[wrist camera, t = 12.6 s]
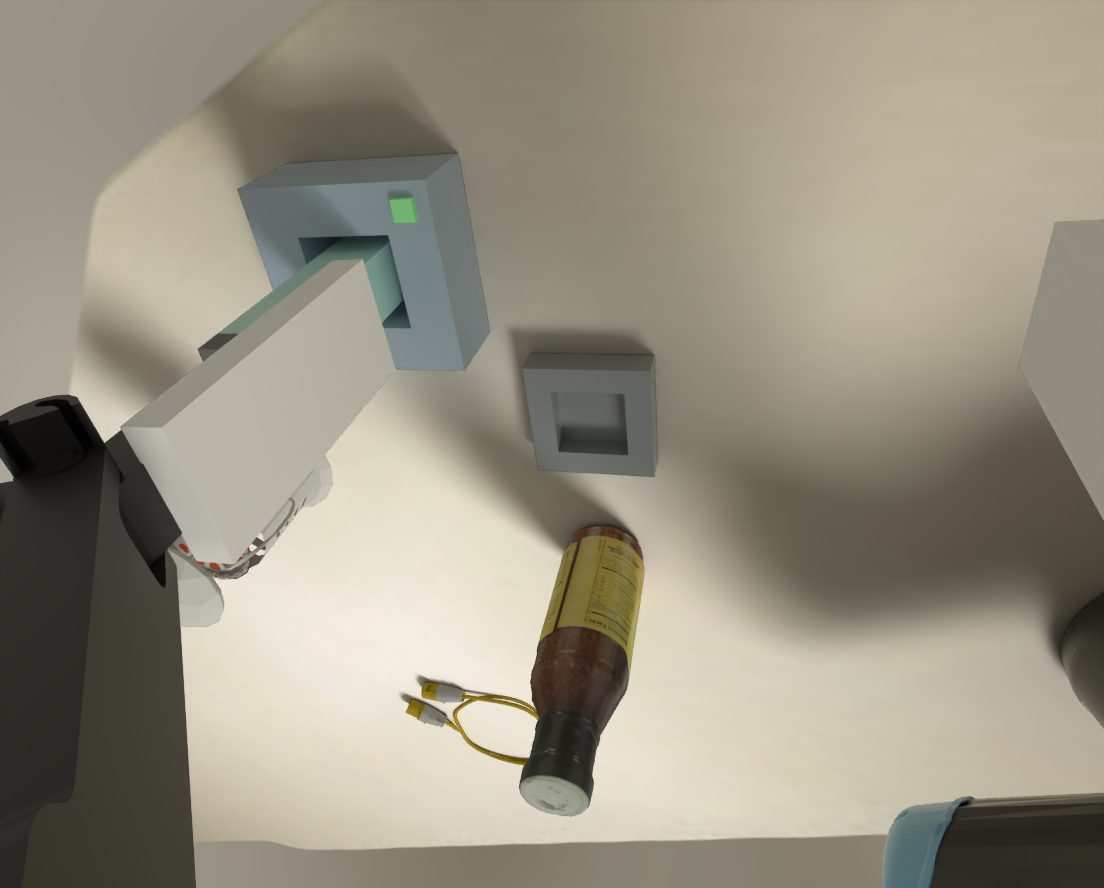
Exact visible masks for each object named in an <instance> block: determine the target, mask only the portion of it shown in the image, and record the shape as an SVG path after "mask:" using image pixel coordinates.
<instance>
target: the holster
mask: <svg viewBox="0 0 1104 888" xmlns="http://www.w3.org/2000/svg"><path fill="white" fill-rule="evenodd" d="M522 371H523V378H524V384H525V391H526V397H527V404H528V410H529V416H530V423H531V429H532V436H533V442H534V449H535V455H536V462H537V468H538V470H545V471H562V472H579V473H596V474H613V475H630V476H647V477H654V476H655V471H656V466H657V461H658V444H657V414H656V385H655V355H618V354H554V353H530V355H529V357H528V358H527V360H526V362H525V364H524V366H523V368H522Z"/></svg>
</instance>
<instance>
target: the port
mask: <svg viewBox="0 0 1104 888" xmlns="http://www.w3.org/2000/svg"><path fill="white" fill-rule="evenodd" d="M237 190H238V193H239V196H240V199H241V201H242V204H243V207H244V210H245V213H246V215H247V218H248V221H249V224H250V227H251V229H252V232H253V235H254V238H255V241H256V243H257V246H258V249H259V252H260V255H261V258H262V260H263V263H264V266H265V269H266V272H267V274H268V277H269V280H270V283H271V286H272V288H273V290H275V289H276V288H277V287H278V286H280V285H281V284H282V283H284V282H285V281H286V280H288V279H289V278H290V277H291V276H293V275H294V274H295V273H297V272H298V271H299V270H300V269H302V268H303V267H304V266H306V265H307V264H308V263H309V262H311V261H312V260H313V259H315V258H316V257H317V256H318V255H320V254H321V253H322V252H324V251H325V250H326V249H328V248H329V247H330V246H331V245H333V244H334V243H335V242H337V241H338V240H339V239H340V238H342V237H343V236H374V235H388V236H389V240H390V244H391V248H392V252H393V257H394V261H395V265H396V269H397V273H398V277H399V281H400V285H401V289H402V293H403V297H404V300H403V301H402V302H401V303H400V304H399V305H398V306H397V307H396V308H395V309H394V311H393V312H392V313H391V314H390V315H389V316H388V317H387V318H386V319H385V320H384V321H383V322H382V325H383V329H384V332H385V335H386V339H387V342H388V345H389V349H390V352H391V355H392V359H393V362H394V366H395V369H400V370H444V371H465V369H466V368H467V366H468V365H469V363H470V362H471V360H472V359H473V357H474V356H475V354H476V353H477V351H478V350H479V348H480V347H481V345H482V343H483V342H484V340H485V339H486V337H487V336H488V334H489V333H490V329H489V323H488V318H487V312H486V306H485V301H484V295H483V289H482V284H481V278H480V273H479V267H478V261H477V256H476V250H475V245H474V239H473V233H472V228H471V222H470V216H469V211H468V205H467V200H466V194H465V188H464V183H463V177H462V172H461V166H460V160H459V155H458V153H455V154H438V155H421V156H405V157H388V158H371V159H354V160H338V161H321V162H304V163H287V164H284V165H282V166H280V167H278V168H276V169H274V170H273V171H271V172H269V173H267V174H265V175H263V176H261V177H259V178H258V179H256V180H254V181H252V182H250V183H248V184H246V185H244V186H243V187H241V188H239V189H237Z"/></svg>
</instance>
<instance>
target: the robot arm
mask: <svg viewBox="0 0 1104 888" xmlns="http://www.w3.org/2000/svg"><path fill="white" fill-rule="evenodd" d="M1019 367H1020V369H1021V371H1022V373H1023V375H1024V376H1025V378H1026V380H1027V382H1028V384H1029V386H1030V387H1031V389H1032V391H1033V393H1034V395H1035V397H1036V398H1037V400H1038V402H1039V404H1040V406H1041V407H1042V409H1043V411H1044V413H1045V415H1046V417H1047V418H1048V420H1049V422H1050V424H1051V426H1052V428H1053V429H1054V431H1055V433H1056V435H1057V437H1058V438H1059V440H1060V442H1061V444H1062V446H1063V448H1064V449H1065V451H1066V453H1067V455H1068V457H1069V458H1070V460H1071V462H1072V464H1073V466H1074V468H1075V469H1076V471H1077V473H1078V475H1079V477H1080V479H1081V480H1082V482H1083V484H1084V486H1085V488H1086V489H1087V491H1088V493H1089V495H1090V497H1091V499H1092V500H1093V502H1094V504H1095V506H1096V508H1097V510H1098V511H1099V513H1100V515H1101V517H1102V519H1103V520H1104V219H1103V220H1084V221H1065V222H1055V223H1054V227H1053V231H1052V235H1051V239H1050V243H1049V247H1048V251H1047V255H1046V259H1045V263H1044V267H1043V271H1042V275H1041V279H1040V283H1039V287H1038V291H1037V295H1036V299H1035V303H1034V307H1033V311H1032V315H1031V319H1030V323H1029V327H1028V331H1027V335H1026V339H1025V343H1024V347H1023V351H1022V355H1021V359H1020V363H1019ZM395 370H396V369H395V366H394V362H393V359H392V355H391V352H390V349H389V345H388V342H387V339H386V335H385V332H384V329H383V325H382V322H381V319H380V315H379V312H378V308H377V305H376V302H375V298H374V295H373V292H372V288H371V285H370V282H369V278H368V275H367V272H366V268H365V265H364V261H363V259H354V260H335V261H331V262H330V263H328V264H327V265H326V266H325V267H323V268H322V269H321V270H320V271H318V272H317V273H316V274H314V275H313V276H312V277H311V278H309V279H308V280H307V281H305V282H304V283H303V284H302V285H300V286H299V287H298V288H297V289H295V290H294V291H293V292H291V293H290V294H289V295H288V296H286V297H285V298H284V299H283V300H281V301H280V302H279V303H277V304H276V305H275V306H274V307H272V308H271V309H270V310H269V311H267V312H266V313H265V314H263V315H262V316H261V317H260V318H258V319H257V320H256V321H254V322H253V323H252V324H251V325H249V326H248V327H247V328H246V329H244V330H243V331H242V332H240V333H239V334H238V335H237V336H235V337H234V338H233V339H232V340H230V341H229V342H228V343H226V344H225V345H224V346H223V347H221V348H220V349H219V350H218V351H216V352H215V353H214V354H212V355H211V356H210V357H209V358H207V359H206V360H205V361H203V362H202V363H201V364H200V365H198V366H197V367H196V368H195V369H193V370H192V371H191V372H189V373H188V374H187V375H186V376H184V377H183V378H182V379H181V380H179V381H178V382H177V383H175V384H174V385H173V386H172V387H170V388H169V389H168V390H167V391H165V392H164V393H163V394H161V395H160V396H159V397H158V398H156V399H155V400H154V401H152V402H151V403H150V404H149V405H147V406H146V407H145V408H144V409H142V410H141V411H140V412H138V413H137V414H136V415H135V416H133V417H132V418H131V419H130V420H128V421H127V422H126V423H124V424H123V425H122V426H121V427H120V428H121V431H119V432H118V433H117V434H115V435H114V436H113V437H112V438H110V439H109V440H108V441H107V442H105V443H104V442H103V440H102V438H101V437H100V435H99V433H98V432H97V430H96V428H95V427H94V425H93V423H92V421H91V420H90V418H89V416H88V415H87V413H86V411H85V410H84V408H83V406H82V405H81V403H80V401H79V400H78V398H77V397H75V396H71V395H57V396H51V397H46V398H43V399H39V400H35V401H32V402H29V403H27V404H24V405H21V406H19V407H17V408H15V409H13V410H11V411H9V412H7V413H5V414H3V415H1V416H0V458H1V460H2V461H3V462H4V464H5V465H6V467H7V468H8V469H9V471H10V472H11V474H12V475H13V477H14V478H13V481H11V482H5V483H0V888H196V880H195V863H194V846H193V829H192V813H191V796H190V779H189V762H188V745H187V729H186V712H185V695H184V678H183V661H182V645H181V628H180V611H179V594H178V578H177V566H176V564H175V562H174V560H173V558H172V556H171V555H170V553H169V551H168V550H167V549H168V548H169V547H170V546H171V545H172V544H173V543H174V542H175V541H176V539H177V538H178V537H179V536H180V535H182V537H183V538H184V540H185V542H186V544H187V545H188V547H189V549H190V551H191V552H192V554H193V556H194V558H195V559H196V561H200V562H212V563H224V564H235V563H236V561H237V560H238V559H239V558H240V557H241V555H242V554H243V553H244V552H245V551H246V549H247V548H248V547H249V546H250V545H251V543H252V542H253V541H254V540H255V538H256V537H257V536H258V535H259V534H260V532H261V531H262V530H263V529H264V528H265V526H266V525H267V524H268V523H269V522H270V520H271V519H272V518H273V517H274V516H275V514H276V513H277V512H278V511H279V510H280V508H281V507H282V506H283V505H284V503H285V502H286V501H287V500H288V499H289V497H290V496H291V495H292V494H293V493H294V491H295V490H296V489H297V488H298V487H299V485H300V484H301V483H302V482H303V481H304V479H305V478H306V477H307V476H308V475H309V473H310V472H311V471H312V470H313V469H314V467H315V466H316V465H317V464H318V462H319V461H320V460H321V459H322V458H323V456H324V455H325V454H326V453H327V452H328V450H329V449H330V448H331V447H332V446H333V444H334V443H335V442H336V441H337V440H338V438H339V437H340V436H341V435H342V434H343V432H344V431H345V430H346V429H347V428H348V426H349V425H350V424H351V423H352V421H353V420H354V419H355V418H356V417H357V415H358V414H359V413H360V412H361V411H362V409H363V408H364V407H365V406H366V405H367V403H368V402H369V401H370V400H371V399H372V397H373V396H374V395H375V394H376V393H377V391H378V390H379V389H380V388H381V387H382V385H383V384H384V383H385V382H386V380H387V379H388V378H389V377H390V376H391V374H392V373H393V372H394V371H395ZM1061 658H1062V662H1063V666H1064V668H1065V671H1066V673H1067V676H1068V678H1069V681H1070V684H1071V686H1072V688H1073V691H1074V693H1075V694H1076V696H1077V698H1078V699H1079V701H1080V702H1081V703H1082V705H1083V706H1084V707H1085V708H1086V709H1087V710H1088V711H1089V712H1090V713H1091V714H1093V716H1094V717H1095V718H1096V719H1097V721H1098V722H1099V723H1100V724H1101V726H1102V727H1103V728H1104V595H1102V596H1101V597H1099V598H1098V599H1096V600H1095V601H1093V602H1092V603H1091V604H1089V605H1088V606H1087V607H1086V608H1084V609H1083V610H1082V611H1081V612H1080V613H1079V614H1078V615H1077V616H1076V617H1075V619H1074V620H1073V621H1072V622H1071V624H1070V625H1069V627H1068V629H1067V630H1066V632H1065V635H1064V637H1063V640H1062V645H1061ZM882 888H1104V793H1091V794H1070V795H1049V796H1028V797H1007V798H986V799H975V798H973V797H971V796H969V797H961V798H958V799H956V800H955V801H953V802H944V803H934V804H925V805H916V806H912V807H909V808H907V809H905V810H903V811H902V812H901V813H900V814H899V815H898V816H897V818H896V819H895V820H894V823H893V824H892V826H891V828H890V829H889V832H888V836H887V839H886V845H885V850H884V859H883V876H882Z"/></svg>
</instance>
